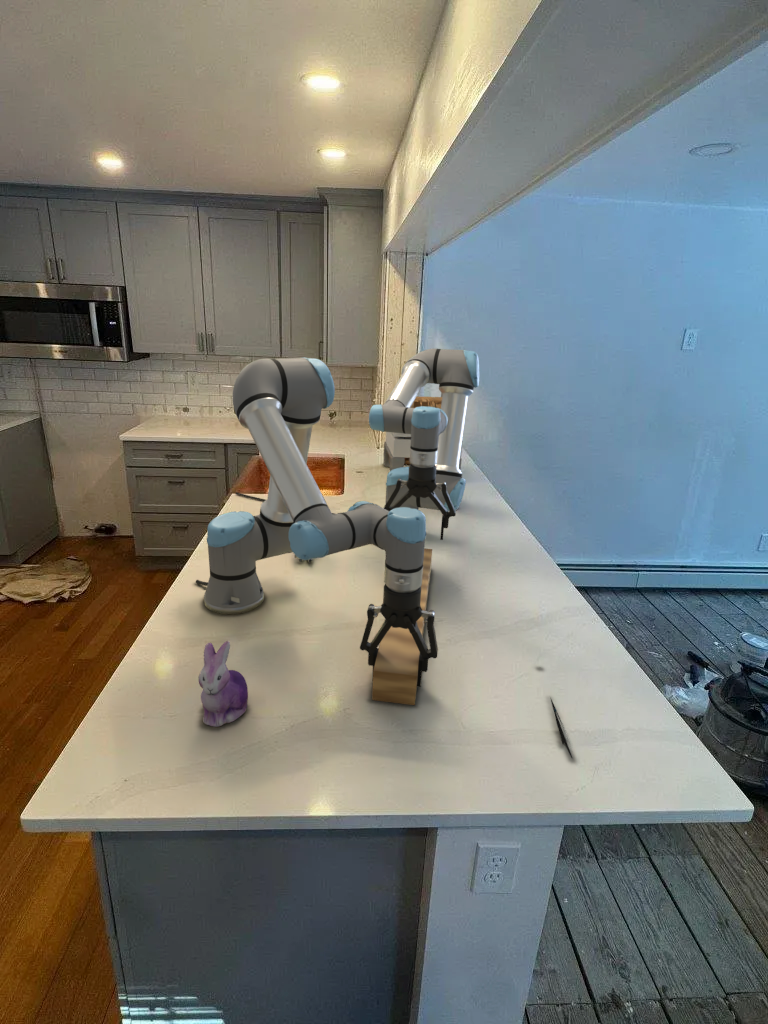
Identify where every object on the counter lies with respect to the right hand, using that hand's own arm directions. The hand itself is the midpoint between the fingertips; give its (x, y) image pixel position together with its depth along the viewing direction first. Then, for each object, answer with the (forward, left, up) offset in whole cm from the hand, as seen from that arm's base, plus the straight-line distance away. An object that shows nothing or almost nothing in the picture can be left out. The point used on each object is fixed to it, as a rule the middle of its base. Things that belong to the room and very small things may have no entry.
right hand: (417, 536), depth 162 cm
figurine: (+20, -70, -14) cm, 74 cm away
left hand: (+33, -37, -13) cm, 51 cm away
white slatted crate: (-82, +81, -14) cm, 116 cm away
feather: (+59, -18, -14) cm, 63 cm away
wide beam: (+17, -18, -14) cm, 28 cm away
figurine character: (-32, -17, -14) cm, 38 cm away
